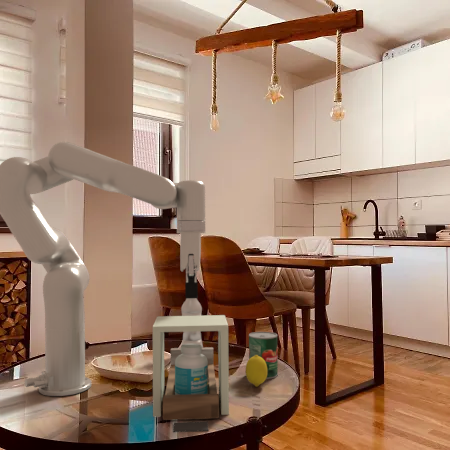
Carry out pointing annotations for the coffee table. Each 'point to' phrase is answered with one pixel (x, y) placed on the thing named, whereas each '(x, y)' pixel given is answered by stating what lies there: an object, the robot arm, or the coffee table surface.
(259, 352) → the canned tomato
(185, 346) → the pill bottle
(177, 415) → the wooden compartment tray
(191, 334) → the plastic bottle
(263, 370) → the lemon
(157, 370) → the tunnel
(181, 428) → the mat
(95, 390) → the coffee table surface
